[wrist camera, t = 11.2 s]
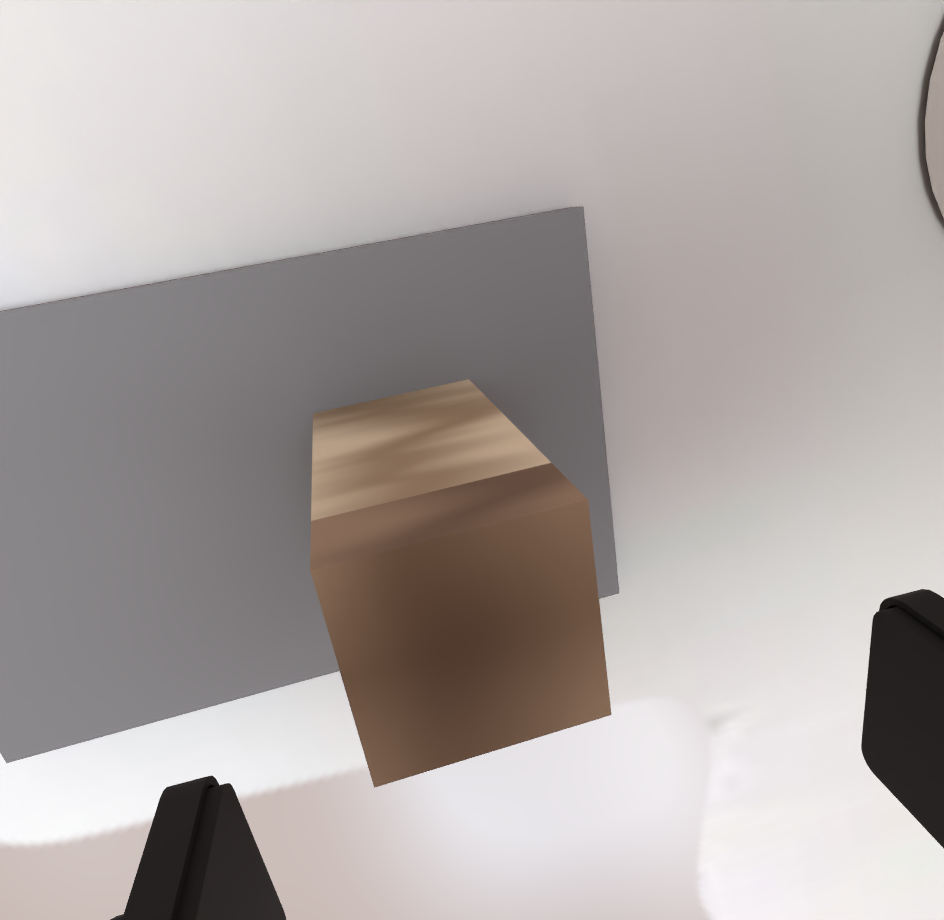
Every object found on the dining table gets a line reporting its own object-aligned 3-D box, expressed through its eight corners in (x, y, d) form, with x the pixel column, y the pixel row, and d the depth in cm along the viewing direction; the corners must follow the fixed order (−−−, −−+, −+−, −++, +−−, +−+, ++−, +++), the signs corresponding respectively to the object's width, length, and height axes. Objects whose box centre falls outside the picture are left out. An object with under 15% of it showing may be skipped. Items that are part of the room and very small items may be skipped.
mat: (571, 207, 21) (583, 206, 20) (608, 580, 26) (619, 593, 25) (-198, 347, 18) (-226, 353, 17) (19, 741, 23) (6, 763, 22)
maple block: (468, 379, 21) (587, 499, 12) (492, 517, 23) (611, 714, 14) (313, 413, 20) (309, 570, 11) (350, 552, 22) (374, 787, 13)
